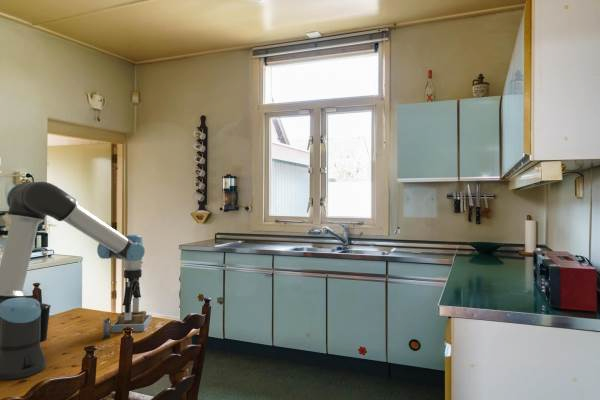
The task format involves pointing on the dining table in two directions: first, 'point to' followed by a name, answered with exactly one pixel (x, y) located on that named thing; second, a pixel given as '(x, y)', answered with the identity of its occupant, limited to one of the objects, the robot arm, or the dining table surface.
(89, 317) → the dining table surface
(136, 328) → the tray
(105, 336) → the stake
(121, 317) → the grey-brown rectangular block
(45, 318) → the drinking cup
